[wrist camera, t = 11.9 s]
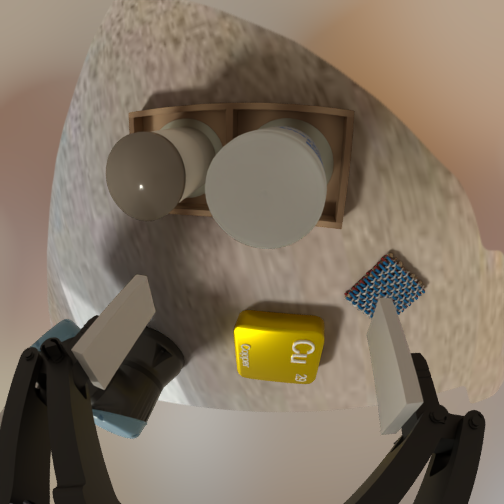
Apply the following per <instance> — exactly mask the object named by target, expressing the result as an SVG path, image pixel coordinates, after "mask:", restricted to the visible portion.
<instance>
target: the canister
mask: <svg viewBox="0 0 504 504" xmlns="http://www.w3.org/2000/svg"><path fill="white" fill-rule="evenodd" d="M215 156H216V154H215V149H214V147H213V144H212V142H211V141H210V139H209V138H208V137H207V136H206V135H205V134H204V133H203V132H201V131H200V130H198V129H196V128H193V127H176V128H170V129H163V130H157V131H152V132H150V131H141V132H136V133H132V134H129V135H127V136H125V137H123V138H122V139H120V140H119V141H118V142H117V143H116V144H115V146H114V147H113V148H112V150H111V152H110V154H109V157H108V160H107V165H106V181H107V186H108V189H109V192H110V194H111V196H112V198H113V200H114V201H115V203H116V204H117V206H118V207H119V208H120V209H121V210H122V211H123V212H124V213H126V214H127V215H129V216H130V217H132V218H135V219H137V220H141V221H154V220H158V219H160V218H162V217H164V216H165V215H167V214H168V213H169V212H171V211H172V210H173V209H174V208H175V207H176V206H177V205H178V203H179V202H181V201H182V200H183V199H185V198H186V197H187V196H189V195H190V194H192V193H193V192H194V191H196V190H197V189H198V188H200V187H201V186H203V185H204V184H205V181H206V175H207V172H208V169H209V166H210V164H211V162H212V160H213V158H214V157H215Z"/></svg>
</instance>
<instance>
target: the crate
mask: <svg viewBox="0 0 504 504" xmlns="http://www.w3.org/2000/svg"><path fill="white" fill-rule="evenodd" d="M353 124H354V111H351V110H345V109H337V108H329V107H320V106H310V105H298V104H281V103H213V104H196V105H184V106H174V107H165V108H157V109H150V110H143V111H136V112H130V113H129V131H130V134H132V133H136V132H141V131H150V132H152V131H157V130H163V129H170V128H176V127H193V128H196V129H198V130H200V131H201V132H203V133H204V134H205V135H206V136H207V137H208V138H209V139H210V141H211V142H212V144H213V147H214V149H215V154H217V153H218V152H219V151H220V150H221V149H222V148H223V147H224V146H225V145H226V144H227V143H229V142H230V141H231V140H233V139H234V138H236V137H238V136H240V135H242V134H244V133H247V132H250V131H254V130H259V129H264V128H269V127H275V126H287V127H292V128H295V129H298V130H300V131H302V132H303V133H305V134H306V135H308V136H309V137H310V138H311V139H312V140H313V142H314V143H315V144H316V146H317V148H318V150H319V152H320V155H321V159H322V162H323V166H324V170H325V174H326V181H327V194H326V200H325V205H324V209H323V212H322V214H321V217H320V219H319V220H318V222H317V224H316V225H315V226H318V227H327V228H336V229H341V228H342V222H343V215H344V208H345V201H346V194H347V186H348V178H349V169H350V160H351V149H352V138H353ZM168 214H180V215H195V216H209V217H213V216H212V214H211V212H210V210H209V207H208V204H207V201H206V195H205V184H204V185H203V186H201V187H200V188H198V189H197V190H196V191H194V192H193V193H192V194H190V195H189V196H187V197H186V198H185V199H183V200H182V201H181V202H179V203H178V205H177V206H176V207H175V208H174V209H173V210H172V211H171V212H169V213H168Z"/></svg>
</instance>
